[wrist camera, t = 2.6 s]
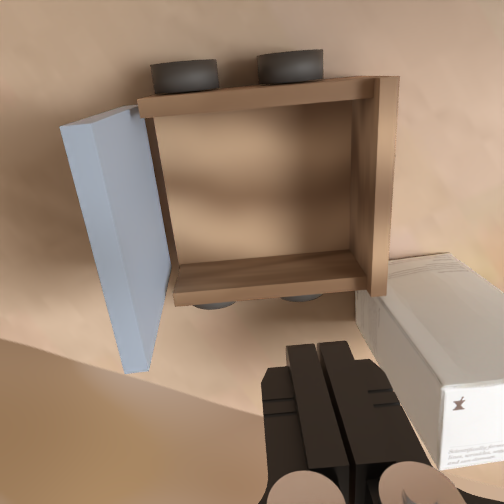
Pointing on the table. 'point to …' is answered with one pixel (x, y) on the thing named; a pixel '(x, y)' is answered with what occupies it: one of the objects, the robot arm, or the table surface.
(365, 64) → the table surface
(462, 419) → the skincare box
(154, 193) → the tailgate
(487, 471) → the table surface
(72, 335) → the table surface
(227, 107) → the wooden toy cart
